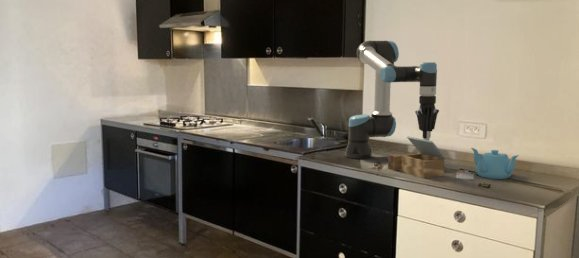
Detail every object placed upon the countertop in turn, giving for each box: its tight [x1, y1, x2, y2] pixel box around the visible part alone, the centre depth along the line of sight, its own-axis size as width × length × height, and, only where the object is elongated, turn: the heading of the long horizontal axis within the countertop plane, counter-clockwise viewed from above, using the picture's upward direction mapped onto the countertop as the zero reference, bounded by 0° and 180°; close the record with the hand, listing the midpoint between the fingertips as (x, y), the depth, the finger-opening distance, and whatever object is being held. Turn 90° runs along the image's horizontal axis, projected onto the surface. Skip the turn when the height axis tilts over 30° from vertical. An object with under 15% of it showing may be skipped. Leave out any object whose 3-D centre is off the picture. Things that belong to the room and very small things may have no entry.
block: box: [387, 153, 402, 172], centre depth 244 cm, size 5×5×7 cm
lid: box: [406, 135, 447, 159], centre depth 233 cm, size 17×12×1 cm
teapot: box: [470, 147, 520, 180], centre depth 229 cm, size 17×19×12 cm
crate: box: [400, 153, 446, 179], centre depth 234 cm, size 16×12×8 cm
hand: (426, 144), depth 233 cm, fingers closed
